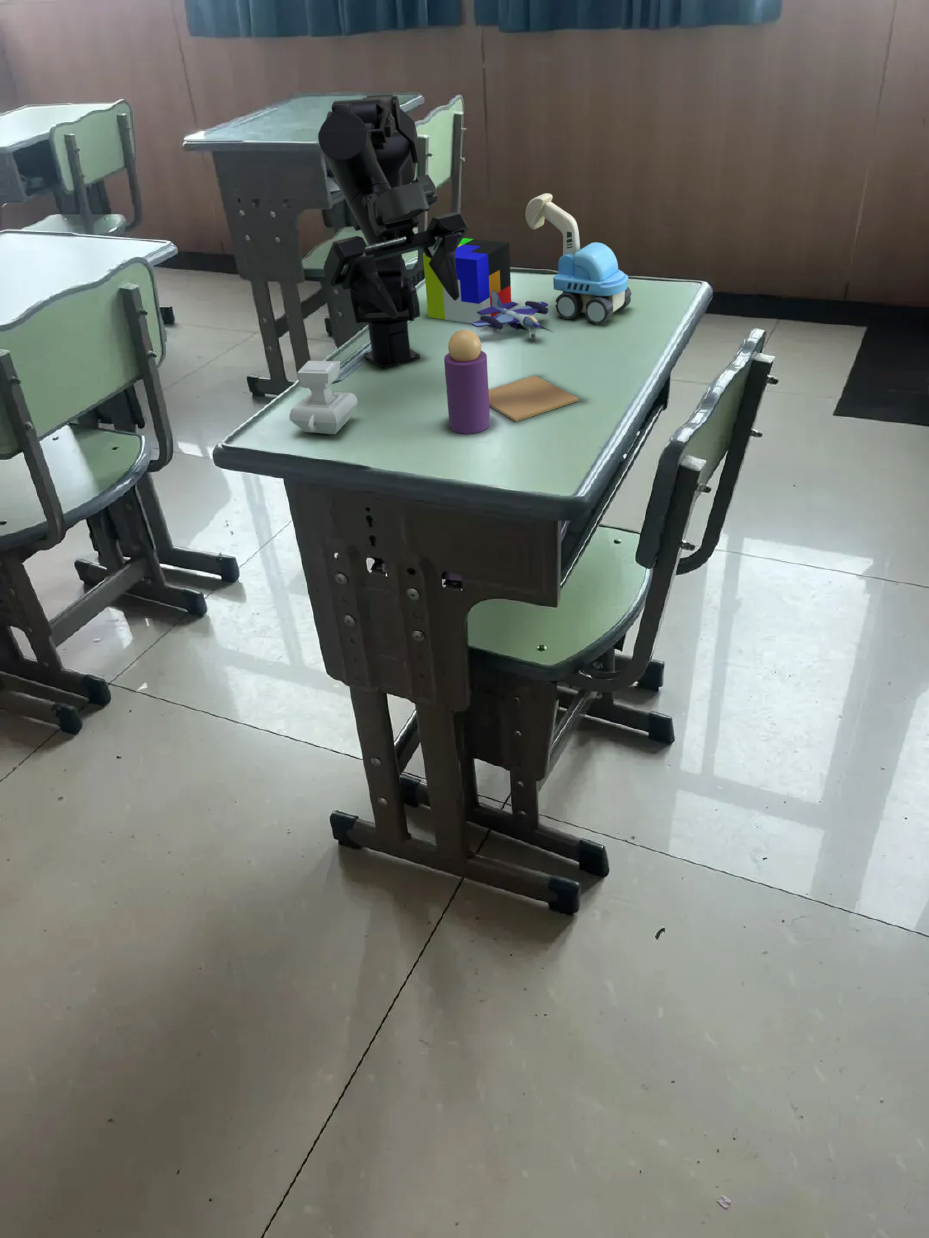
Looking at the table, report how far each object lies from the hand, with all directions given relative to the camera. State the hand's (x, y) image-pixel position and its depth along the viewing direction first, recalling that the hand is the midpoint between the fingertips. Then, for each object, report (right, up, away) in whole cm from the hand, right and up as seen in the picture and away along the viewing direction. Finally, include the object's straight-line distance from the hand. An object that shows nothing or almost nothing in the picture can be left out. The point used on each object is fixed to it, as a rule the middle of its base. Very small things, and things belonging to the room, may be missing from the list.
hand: (427, 307), depth 114 cm
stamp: (-13, -14, +5) cm, 20 cm away
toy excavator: (+23, +11, +34) cm, 43 cm away
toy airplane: (+13, +5, +28) cm, 31 cm away
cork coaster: (+13, -9, +8) cm, 18 cm away
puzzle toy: (+6, +12, +38) cm, 40 cm away
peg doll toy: (+5, -14, +3) cm, 15 cm away
